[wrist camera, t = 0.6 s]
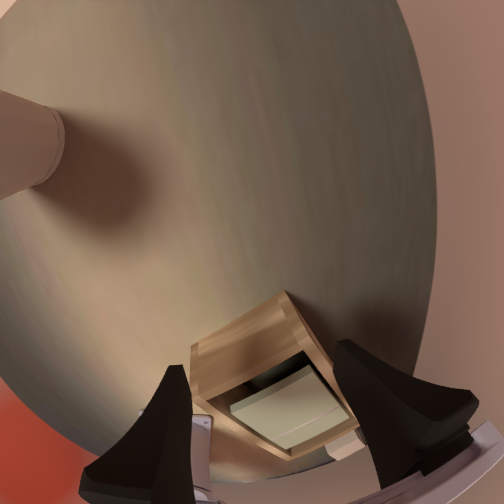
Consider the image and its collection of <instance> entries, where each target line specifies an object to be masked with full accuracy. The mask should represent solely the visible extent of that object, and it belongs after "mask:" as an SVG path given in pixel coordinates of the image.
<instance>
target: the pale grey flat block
mask: <svg viewBox="0 0 504 504" xmlns="http://www.w3.org/2000/svg"><path fill="white" fill-rule="evenodd" d="M230 410H231V414H232V415H234V416H235V417H236V418H238V419H239V420H241V421H242V422H244V423H245V424H246V425H248V426H249V427H251V428H252V429H254V430H255V431H257V432H258V433H260V434H261V435H263V436H264V437H266V438H268V439H269V440H271V441H272V442H274V443H276V444H277V445H279V446H281V447H282V448H284V449H288V448H291V447H293V446H295V445H297V444H300V443H302V442H304V441H306V440H308V439H310V438H312V437H314V436H316V435H318V434H320V433H322V432H324V431H326V430H328V429H330V428H332V427H334V426H336V425H337V424H339V423H341V422H343V421H345V420H346V419H348V418H350V417H349V416H348V414H347V412H346V410H345V409H344V408H343V407H342V405H341V404H340V403H339V402H338V400H337V399H336V398H335V397H334V395H333V393H332V392H331V391H330V389H329V388H328V387H327V385H326V384H324V383H323V381H322V380H321V379H320V378H319V376H318V375H317V374H316V372H315V371H314V370H313V369H312V367H311V366H310V365H307V366H306V367H304V368H302V369H301V370H299V371H297V372H295V373H294V374H292V375H290V376H288V377H286V378H285V379H283V380H281V381H279V382H277V383H275V384H273V385H271V386H270V387H268V388H266V389H264V390H262V391H260V392H258V393H256V394H254V395H252V396H250V397H248V398H246V399H243V400H241V401H239V402H237V403H235V404H233V405H231V406H230Z"/></svg>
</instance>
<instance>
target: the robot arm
mask: <svg viewBox="0 0 504 504" xmlns="http://www.w3.org/2000/svg"><path fill="white" fill-rule="evenodd" d="M332 372H333V374H334V377H335V380H336V382H337V385H338V387H339V389H340V391H341V393H342V394H343V396H344V398H345V400H346V402H347V403H348V405H349V407H350V408H351V410H352V412H353V414H354V415H355V417H356V419H357V421H358V423H359V425H360V427H361V429H362V431H363V434H364V436H365V439H366V441H367V444H368V447H369V449H370V452H371V455H372V458H373V461H374V465H375V468H376V471H377V475H378V479H379V483H380V487H381V490H380V491H378V492H375V493H373V494H371V495H368V496H366V497H363V498H361V499H358V500H356V501H353V502H350V503H348V504H385V503H387V502H389V501H391V500H392V501H391V502H389V503H387V504H448V503H450V502H451V501H452V500H454V499H455V498H456V497H458V496H459V495H460V494H462V493H463V492H464V491H466V490H467V489H468V488H469V487H470V486H472V485H473V484H474V483H475V482H476V481H478V480H479V479H480V478H481V477H482V476H483V475H484V474H485V473H486V472H488V471H489V470H490V469H491V468H492V467H493V466H494V465H495V464H496V463H497V462H498V461H499V460H500V459H501V458H502V457H503V456H504V438H503V437H502V435H501V434H500V433H499V432H498V431H497V430H496V428H495V427H494V426H493V425H492V423H491V422H490V421H489V420H486V421H485V422H484V423H483V424H481V425H480V426H479V427H478V428H476V429H475V430H474V431H473V432H472V433H471V434H470V433H469V432H468V430H469V429H470V427H469V425H468V424H467V422H468V421H469V419H470V418H471V417H472V415H473V414H474V413H475V411H476V409H477V408H478V405H479V400H478V399H477V398H476V397H475V395H474V394H473V393H472V392H471V391H470V390H464V389H456V388H455V389H454V388H449V387H444V386H440V385H436V384H432V383H429V382H426V381H423V380H420V379H417V378H415V377H412V376H410V375H408V374H405V373H403V372H401V371H399V370H397V369H395V368H394V367H392V366H390V365H388V364H386V363H385V362H383V361H381V360H380V359H378V358H377V357H375V356H374V355H372V354H370V353H369V352H367V351H366V350H365V349H363V348H362V347H360V346H359V345H357V344H356V343H354V342H353V341H351V340H350V339H345V340H341V341H337V345H336V351H335V358H334V364H333V370H332ZM139 416H140V417H139V418H138V420H137V421H136V422H135V423H134V425H133V426H132V427H131V428H130V430H129V431H128V432H127V433H126V434H125V435H124V436H123V437H122V438H121V439H120V440H119V441H118V442H117V443H116V444H115V445H114V446H113V447H112V448H111V449H109V450H108V451H107V452H106V453H105V454H104V455H102V456H101V457H100V458H98V459H97V460H95V461H94V462H93V463H91V464H90V465H88V466H87V467H85V468H84V470H83V473H82V476H81V481H80V486H79V492H78V494H79V495H80V496H81V497H82V498H83V499H84V500H85V501H87V502H88V503H90V504H226V503H225V502H224V501H222V500H218V497H217V493H215V492H211V481H210V469H209V456H208V454H209V453H210V436H211V417H210V416H208V415H193V409H192V393H191V390H190V387H189V384H188V381H187V377H186V374H185V371H184V368H183V365H170V366H169V367H168V368H167V370H166V372H165V375H164V377H163V379H162V381H161V383H160V384H159V386H158V388H157V390H156V392H155V393H154V395H153V397H152V399H151V400H150V402H149V404H148V405H147V407H146V408H145V410H141V411H139Z"/></svg>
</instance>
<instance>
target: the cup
mask: <svg viewBox="0 0 504 504" xmlns="http://www.w3.org/2000/svg"><path fill="white" fill-rule="evenodd" d="M64 145H65V129H64V125H63V121H62V119H61V117H60V115H59V114H58V113H57V112H56V111H55V110H54V109H53V108H51V107H48V106H44V105H40V104H37V103H35V102H32V101H29V100H27V99H24V98H21V97H18V96H16V95H13V94H10V93H7V92H4V91H1V90H0V200H2V199H4V198H6V197H8V196H10V195H12V194H15V193H17V192H19V191H21V190H24V189H26V188H28V187H31V186H34V185H38V184H40V183H42V182H44V181H46V180H47V179H48V178H49V177H50V176H51V175H52V174H53V173H54V171H55V170H56V168H57V166H58V165H59V162H60V160H61V157H62V154H63V151H64Z"/></svg>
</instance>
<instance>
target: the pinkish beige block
mask: <svg viewBox="0 0 504 504" xmlns="http://www.w3.org/2000/svg"><path fill="white" fill-rule="evenodd" d="M325 447H326V450H327V452H328V454H329V455H330V456H332V457H333V458H335V459H336V460H341V459H342V458H345V457H346V456H348V455H350V454H352V453H354V452H356V451H358V450H360V449H361V448H363V447H365V444H364V442H363V440H362V438H361V437H360V435H359V433H358V431H357V429H354V430H352V431H350V432H349V433H347V434H345V435H343V436H341V437H339V438H337V439H335V440H334V441H332V442H330V443H328V444H326V445H325Z"/></svg>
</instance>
